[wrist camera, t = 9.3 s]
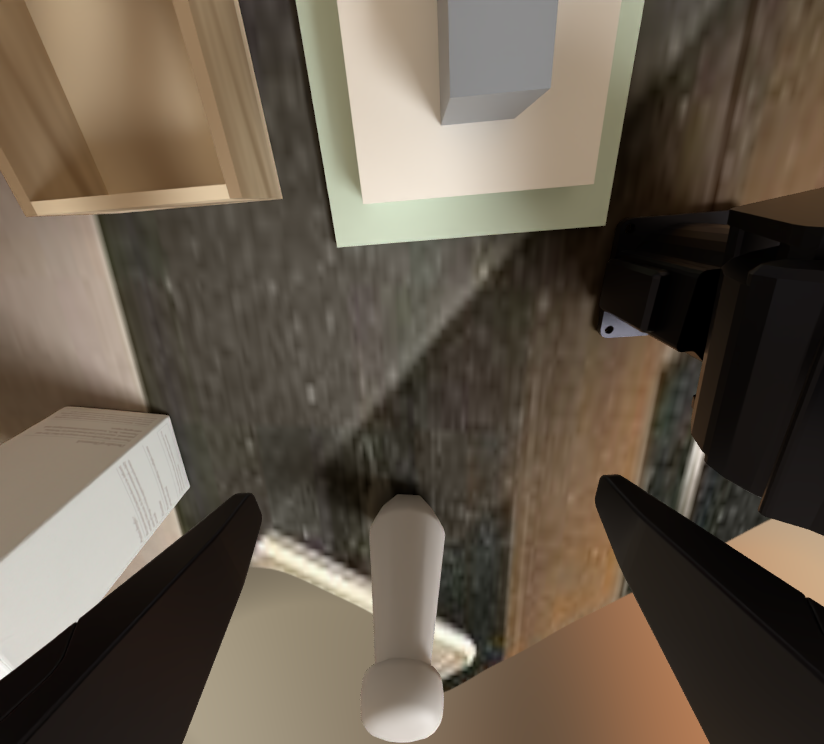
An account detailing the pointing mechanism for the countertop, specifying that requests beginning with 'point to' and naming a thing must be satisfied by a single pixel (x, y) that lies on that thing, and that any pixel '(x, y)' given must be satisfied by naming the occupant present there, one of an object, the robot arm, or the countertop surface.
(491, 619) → the countertop surface
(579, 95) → the lid
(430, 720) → the salt shaker
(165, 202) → the box
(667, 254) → the robot arm
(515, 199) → the mat
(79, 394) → the countertop surface
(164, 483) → the supplement box
